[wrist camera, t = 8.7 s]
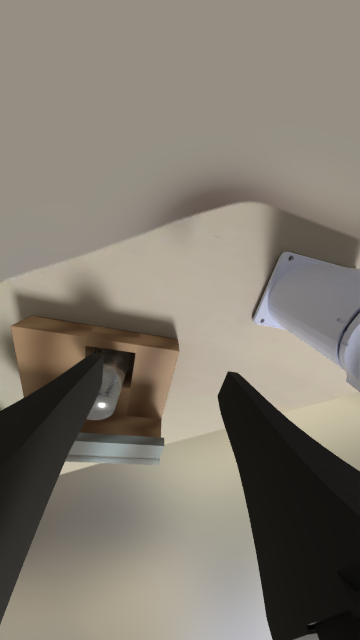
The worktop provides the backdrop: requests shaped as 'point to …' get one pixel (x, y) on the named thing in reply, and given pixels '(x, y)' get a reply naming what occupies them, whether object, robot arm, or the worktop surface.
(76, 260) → the worktop surface
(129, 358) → the peg
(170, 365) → the socket board
